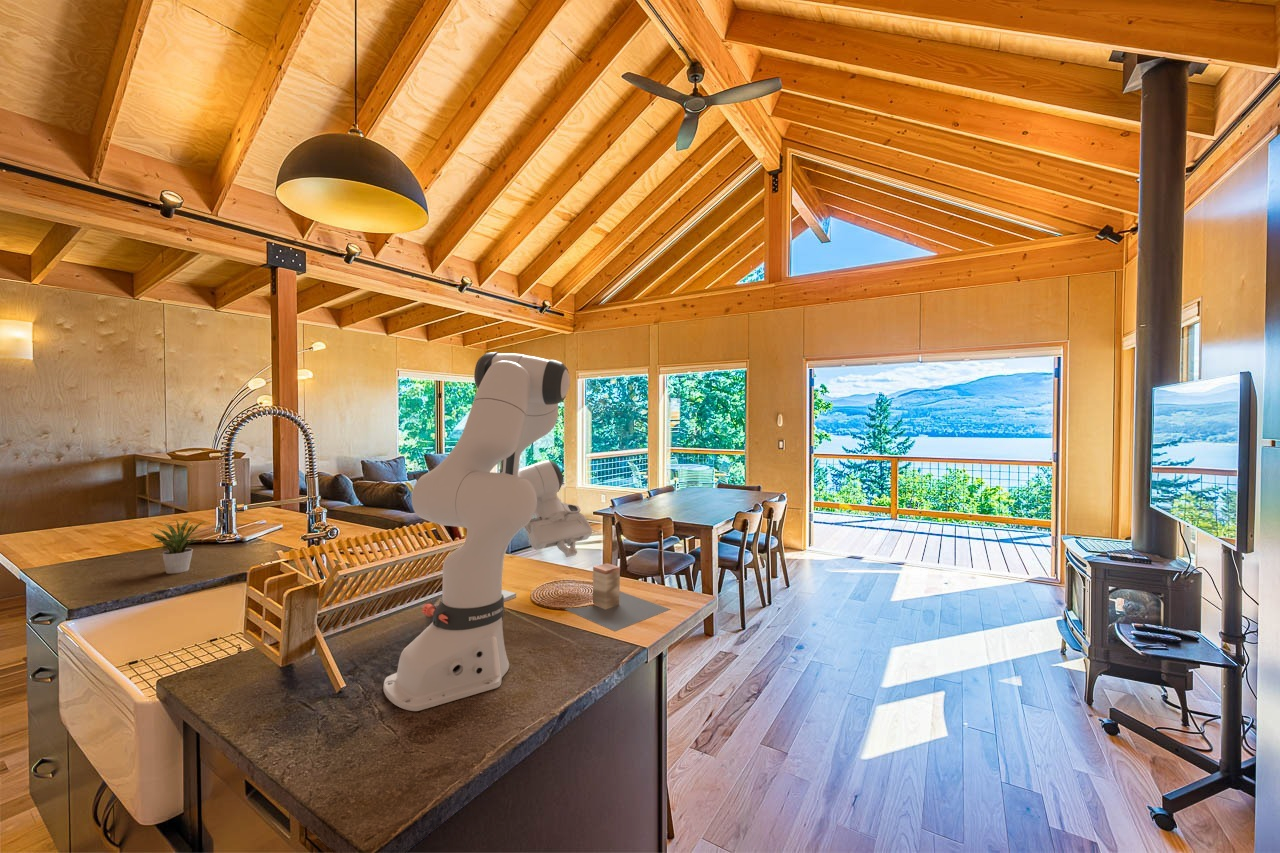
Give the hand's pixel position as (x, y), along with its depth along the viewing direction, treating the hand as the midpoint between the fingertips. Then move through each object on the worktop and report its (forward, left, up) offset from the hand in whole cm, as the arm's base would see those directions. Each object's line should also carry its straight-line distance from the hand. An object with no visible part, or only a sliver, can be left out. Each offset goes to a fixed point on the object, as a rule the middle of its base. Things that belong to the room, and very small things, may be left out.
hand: (572, 555), depth 145 cm
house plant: (-75, +100, -11) cm, 125 cm away
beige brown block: (0, -14, -10) cm, 18 cm away
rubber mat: (0, -19, -11) cm, 22 cm away
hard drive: (-20, +11, -12) cm, 25 cm away
